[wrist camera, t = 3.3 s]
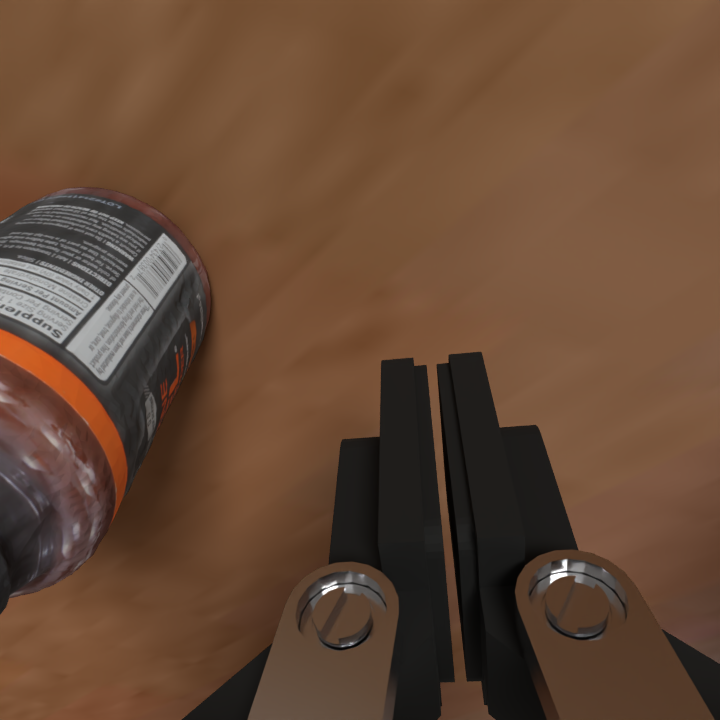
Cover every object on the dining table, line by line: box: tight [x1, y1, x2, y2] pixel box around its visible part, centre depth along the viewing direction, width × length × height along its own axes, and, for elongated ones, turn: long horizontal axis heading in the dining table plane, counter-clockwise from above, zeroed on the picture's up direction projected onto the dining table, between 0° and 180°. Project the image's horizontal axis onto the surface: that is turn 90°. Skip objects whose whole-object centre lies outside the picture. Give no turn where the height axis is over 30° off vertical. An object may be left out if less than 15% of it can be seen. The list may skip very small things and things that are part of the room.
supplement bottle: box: [0, 187, 211, 614], centre depth 14 cm, size 6×6×11 cm
